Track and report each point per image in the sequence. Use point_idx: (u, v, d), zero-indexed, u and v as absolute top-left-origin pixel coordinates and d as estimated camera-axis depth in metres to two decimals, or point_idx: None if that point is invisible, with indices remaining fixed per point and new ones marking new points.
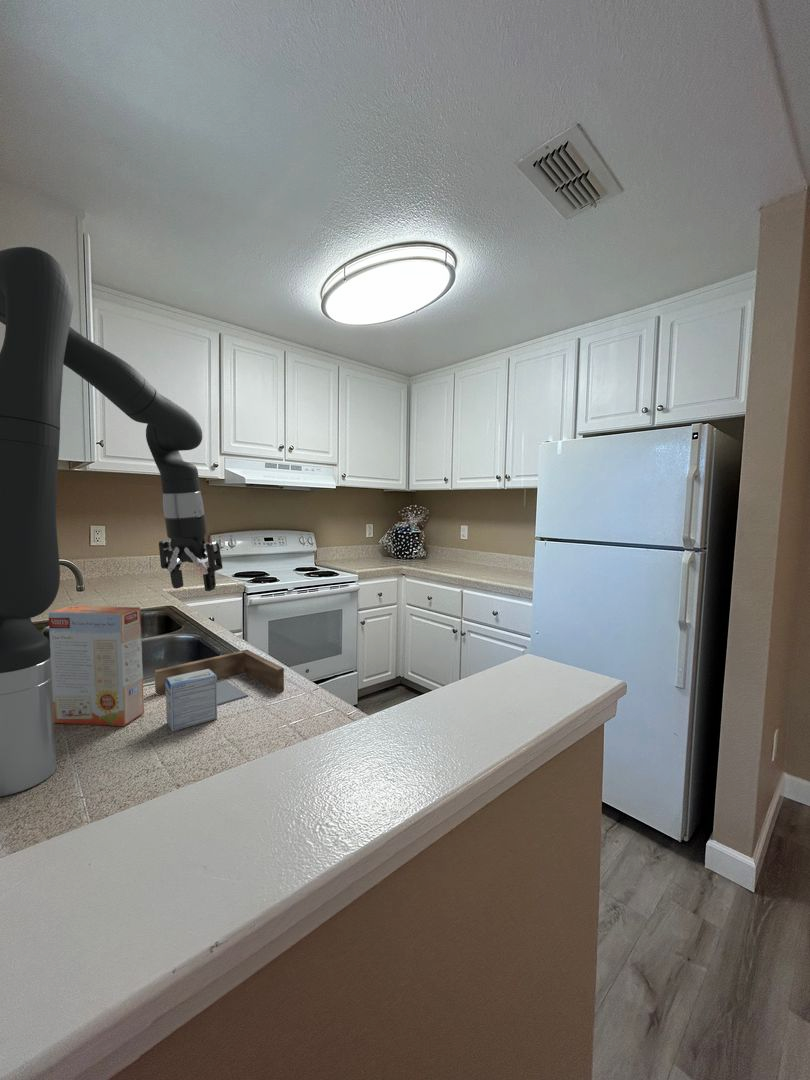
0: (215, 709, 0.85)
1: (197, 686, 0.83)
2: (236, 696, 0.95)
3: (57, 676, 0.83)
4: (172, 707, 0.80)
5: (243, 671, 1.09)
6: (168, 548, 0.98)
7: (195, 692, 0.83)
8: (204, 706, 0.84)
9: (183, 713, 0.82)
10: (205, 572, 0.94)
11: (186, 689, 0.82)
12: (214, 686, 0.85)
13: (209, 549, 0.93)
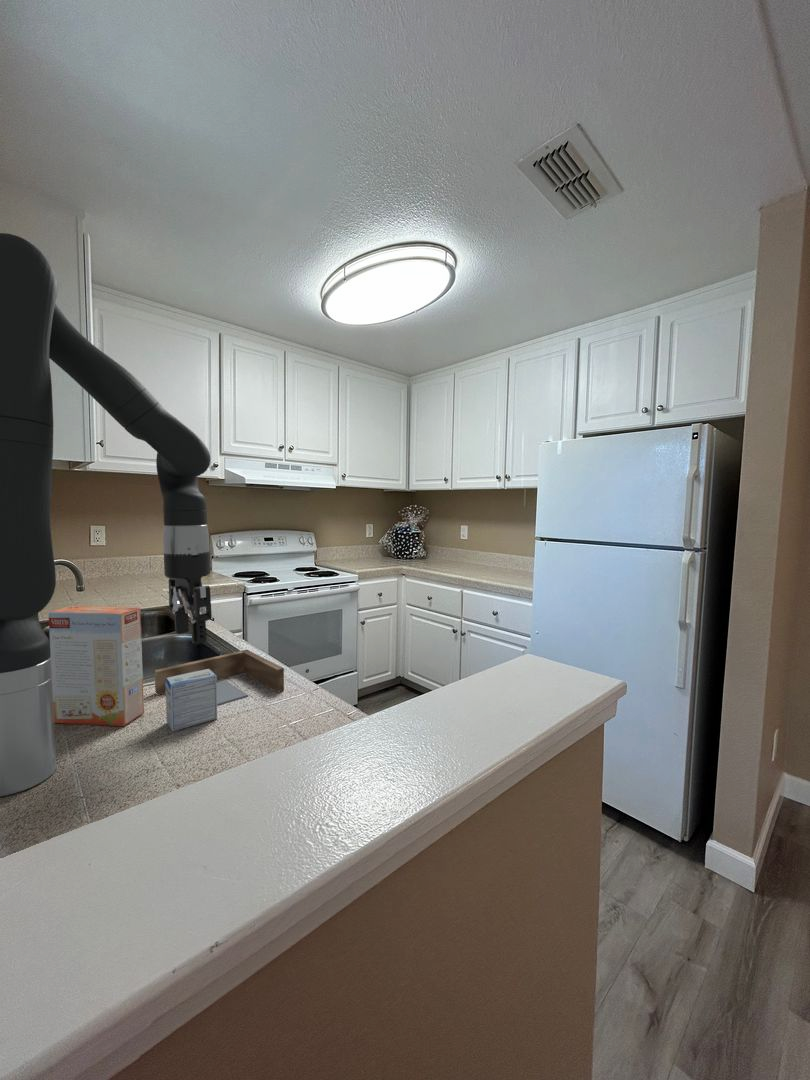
0: (215, 709, 0.85)
1: (197, 686, 0.83)
2: (236, 696, 0.95)
3: (57, 676, 0.83)
4: (172, 707, 0.80)
5: (243, 671, 1.09)
6: None
7: (195, 692, 0.83)
8: (204, 706, 0.84)
9: (183, 713, 0.82)
10: (192, 621, 0.79)
11: (186, 689, 0.82)
12: (214, 686, 0.85)
13: (195, 595, 0.77)
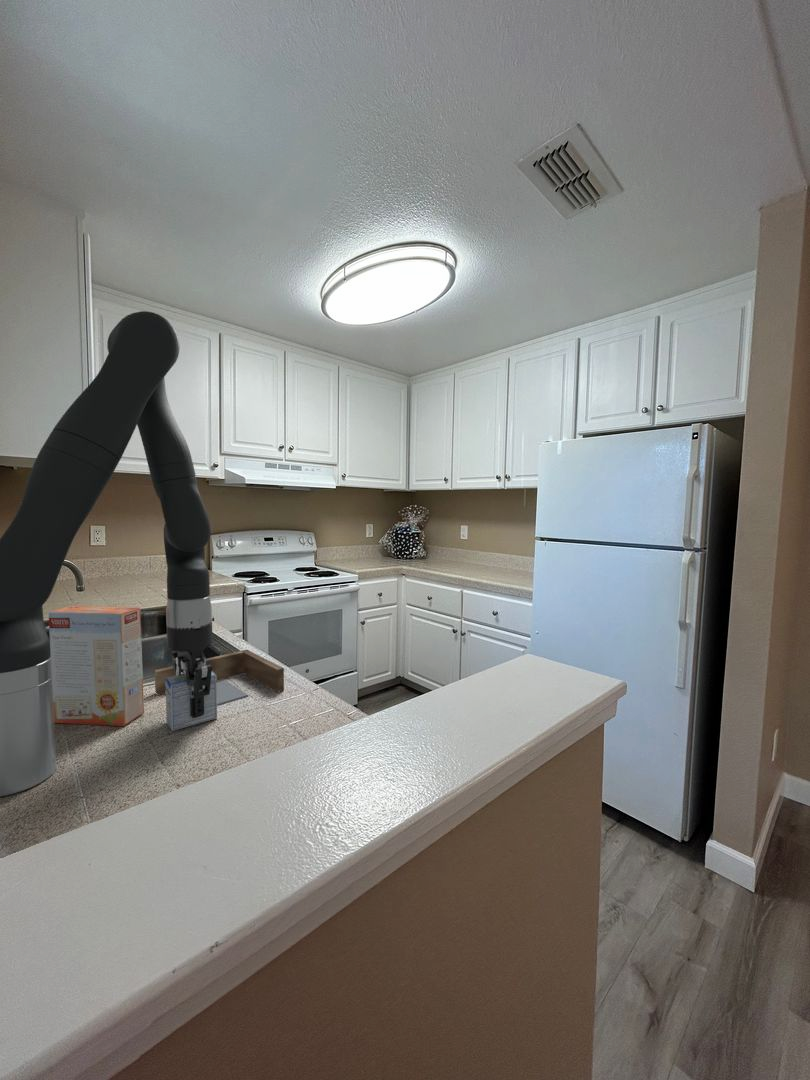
0: (215, 709, 0.85)
1: None
2: (236, 696, 0.95)
3: (57, 676, 0.83)
4: (172, 707, 0.80)
5: (243, 671, 1.09)
6: None
7: None
8: (204, 706, 0.84)
9: (183, 713, 0.82)
10: (190, 696, 0.81)
11: (186, 689, 0.82)
12: (214, 686, 0.85)
13: (196, 675, 0.79)
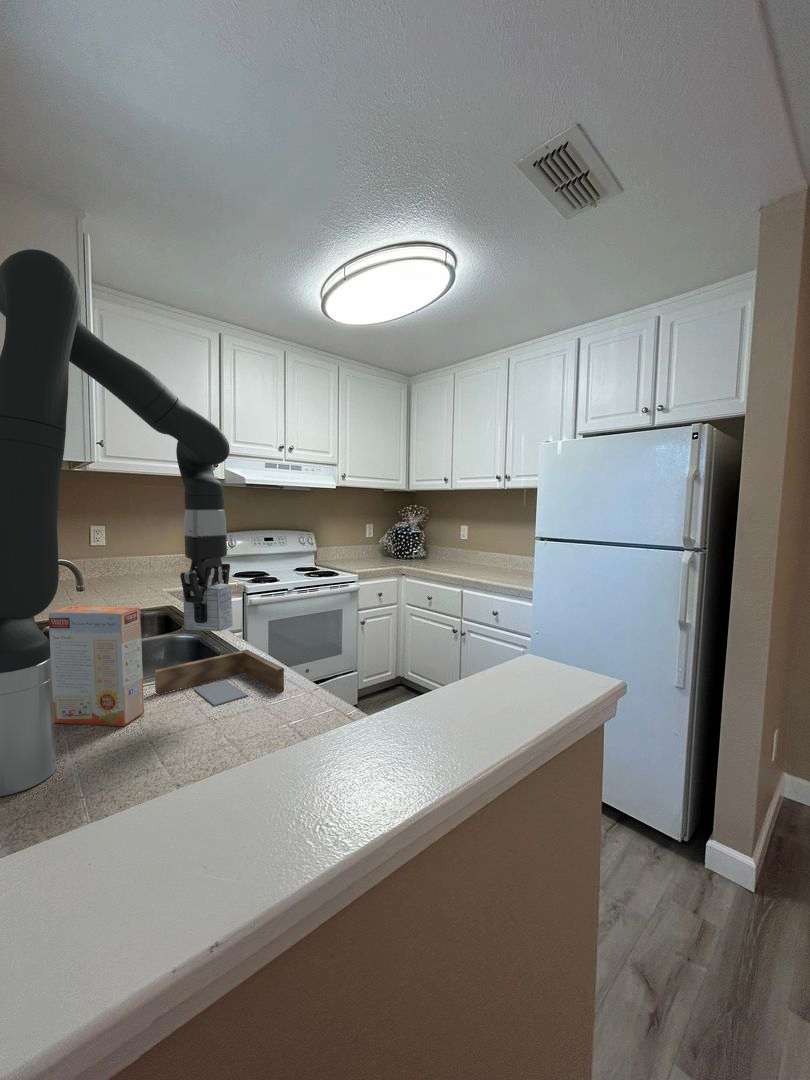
0: (218, 621, 0.87)
1: None
2: (236, 696, 0.95)
3: (57, 676, 0.83)
4: (184, 607, 0.89)
5: (243, 671, 1.09)
6: None
7: None
8: (208, 615, 0.88)
9: (192, 616, 0.88)
10: None
11: None
12: (216, 598, 0.87)
13: None
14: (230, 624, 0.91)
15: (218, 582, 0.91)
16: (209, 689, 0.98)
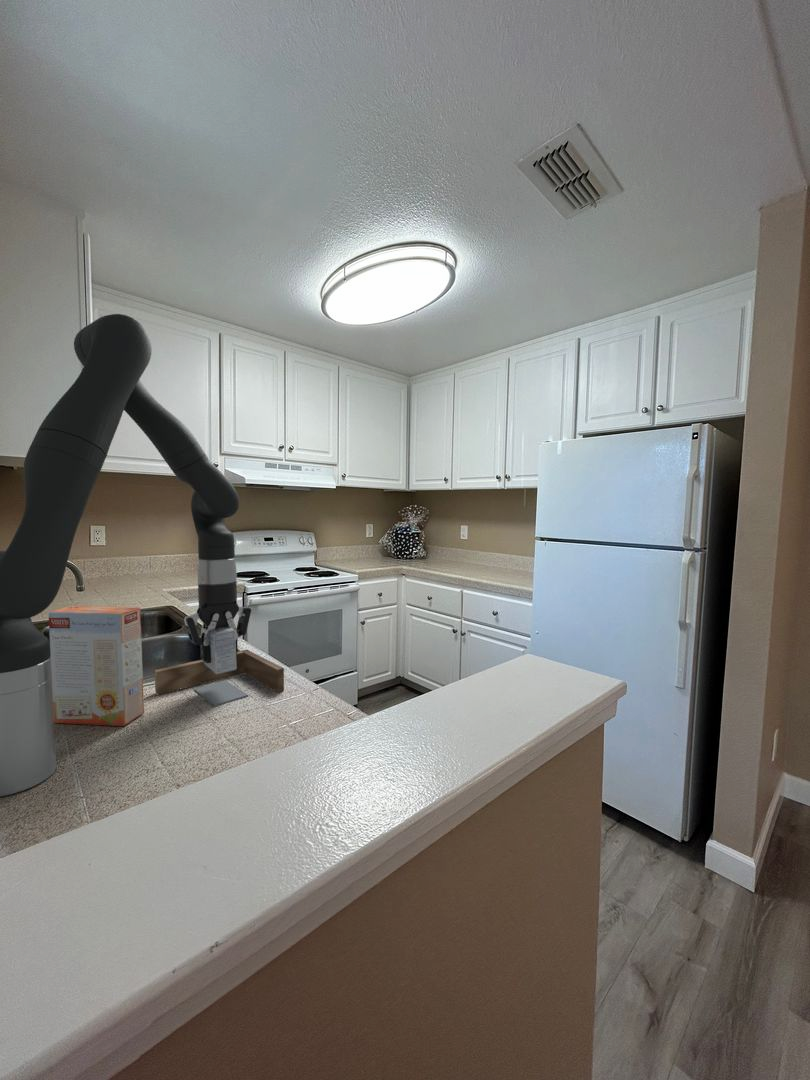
0: (214, 664, 0.93)
1: None
2: (236, 696, 0.95)
3: (57, 676, 0.83)
4: None
5: (243, 671, 1.09)
6: None
7: None
8: (211, 656, 0.94)
9: None
10: None
11: None
12: (213, 643, 0.93)
13: None
14: (232, 668, 0.95)
15: (228, 626, 0.96)
16: (209, 689, 0.98)
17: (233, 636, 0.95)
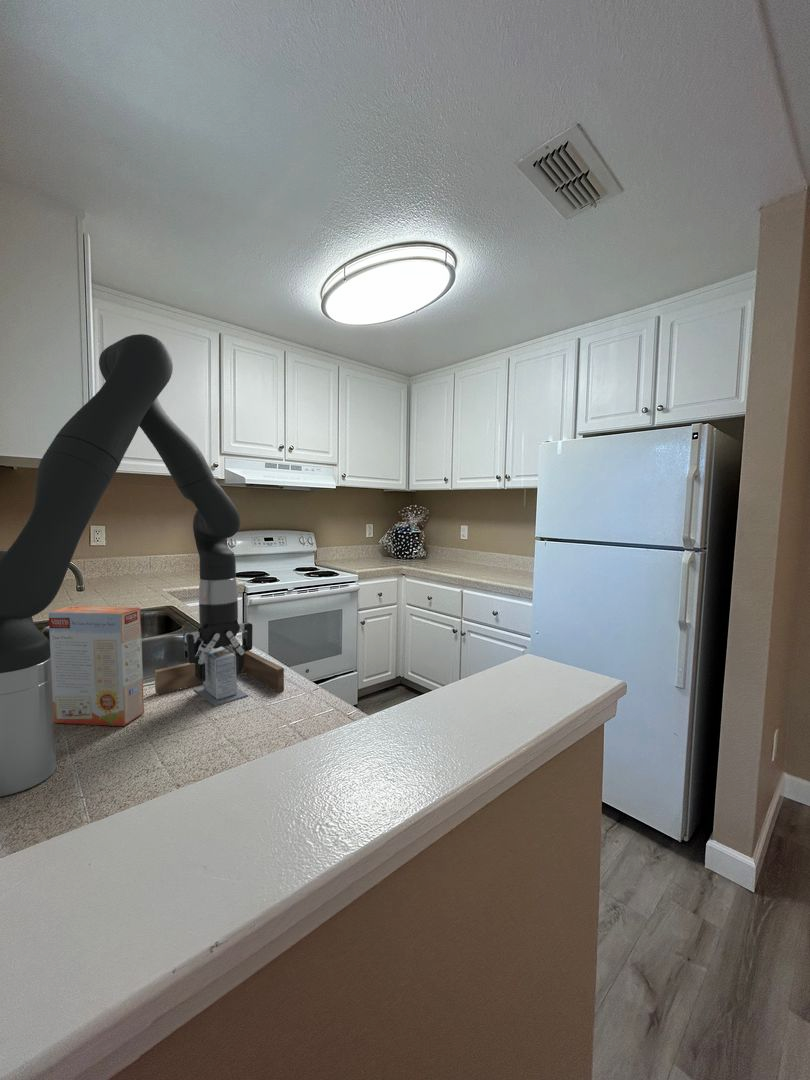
0: (215, 690, 0.93)
1: (209, 661, 0.95)
2: (236, 696, 0.95)
3: (57, 676, 0.83)
4: None
5: (243, 671, 1.09)
6: None
7: (208, 665, 0.95)
8: (211, 682, 0.94)
9: None
10: None
11: (206, 659, 0.96)
12: (214, 669, 0.93)
13: None
14: (233, 693, 0.95)
15: (232, 644, 0.97)
16: None
17: (234, 661, 0.95)
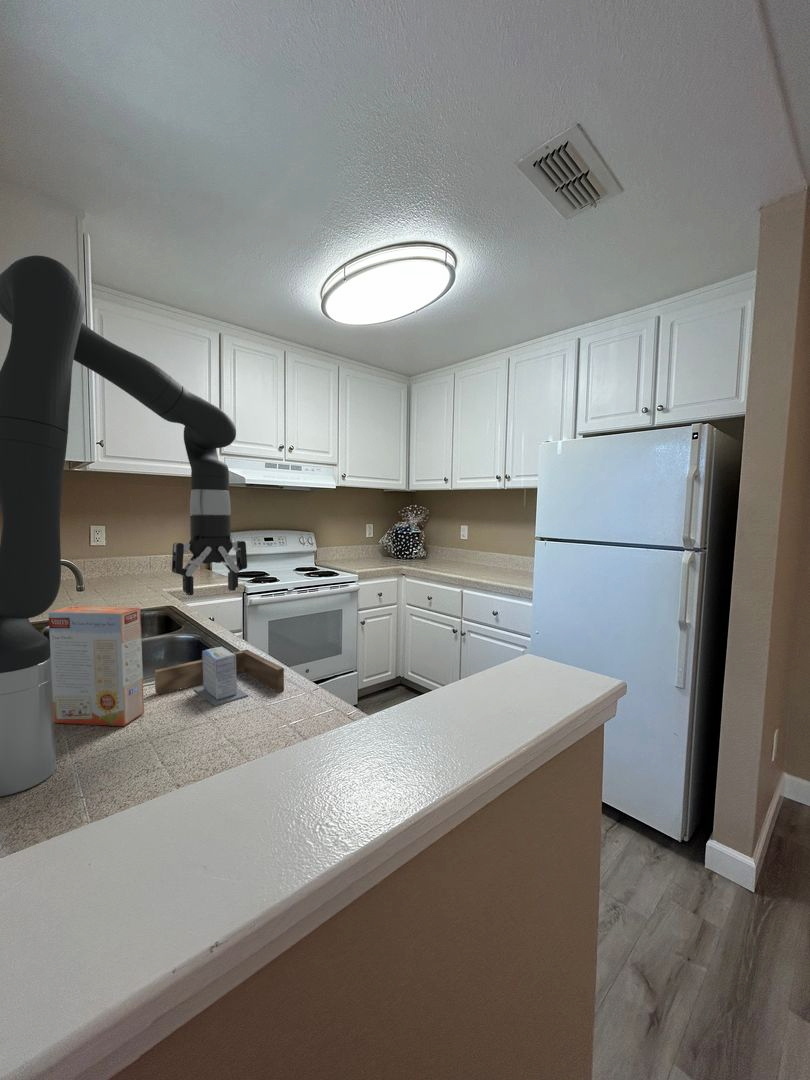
0: (215, 690, 0.93)
1: (209, 661, 0.95)
2: (236, 696, 0.95)
3: (57, 676, 0.83)
4: None
5: (243, 671, 1.09)
6: None
7: (208, 665, 0.95)
8: (211, 682, 0.94)
9: (205, 679, 0.97)
10: None
11: (206, 659, 0.96)
12: (214, 669, 0.93)
13: None
14: (233, 693, 0.95)
15: (225, 560, 0.93)
16: None
17: (234, 661, 0.95)
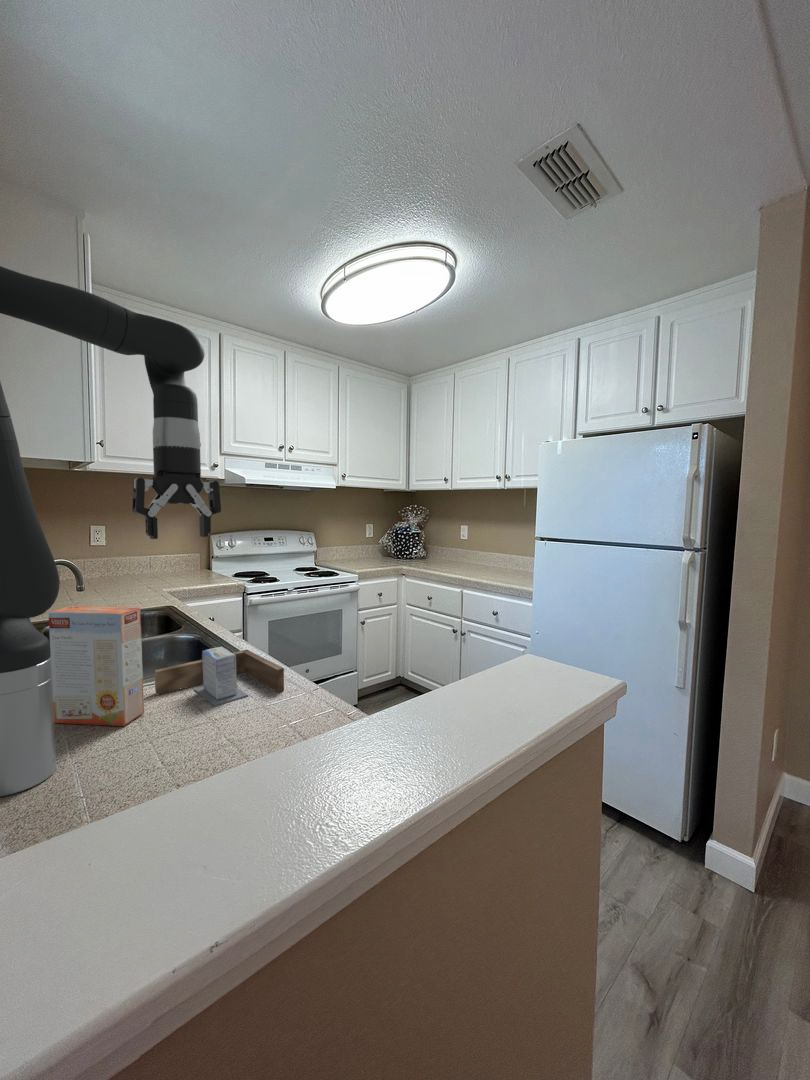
0: (215, 690, 0.93)
1: (209, 661, 0.95)
2: (236, 696, 0.95)
3: (57, 676, 0.83)
4: None
5: (243, 671, 1.09)
6: None
7: (208, 665, 0.95)
8: (211, 682, 0.94)
9: (205, 679, 0.97)
10: None
11: (206, 659, 0.96)
12: (214, 669, 0.93)
13: None
14: (233, 693, 0.95)
15: (195, 501, 0.82)
16: None
17: (234, 661, 0.95)
